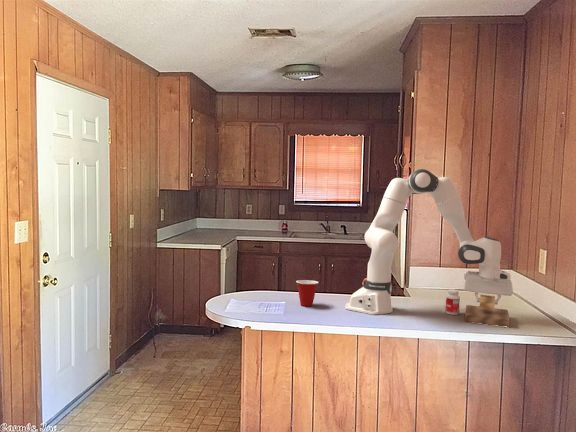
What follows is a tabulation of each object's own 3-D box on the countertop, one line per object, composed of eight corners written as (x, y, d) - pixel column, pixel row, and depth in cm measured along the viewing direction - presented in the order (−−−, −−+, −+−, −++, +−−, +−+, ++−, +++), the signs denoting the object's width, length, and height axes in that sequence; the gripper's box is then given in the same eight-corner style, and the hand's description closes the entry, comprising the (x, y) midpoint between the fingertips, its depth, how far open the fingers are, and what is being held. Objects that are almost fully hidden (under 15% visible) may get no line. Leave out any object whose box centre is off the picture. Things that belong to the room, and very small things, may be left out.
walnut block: (464, 323, 216) (464, 314, 216) (465, 313, 233) (466, 304, 232) (508, 329, 209) (509, 319, 209) (507, 318, 226) (507, 309, 226)
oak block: (479, 308, 219) (480, 297, 218) (479, 305, 224) (480, 294, 224) (494, 310, 216) (494, 299, 216) (493, 306, 222) (494, 296, 222)
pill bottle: (443, 311, 232) (444, 288, 231) (455, 311, 233) (456, 288, 232) (448, 315, 226) (449, 291, 225) (461, 315, 226) (462, 292, 226)
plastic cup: (318, 302, 241) (318, 279, 240) (317, 308, 231) (318, 283, 230) (296, 301, 242) (297, 277, 241) (294, 307, 232) (295, 282, 231)
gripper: (464, 271, 220) (462, 301, 221) (514, 276, 212) (511, 307, 214) (464, 269, 226) (463, 298, 227) (513, 274, 218) (511, 304, 219)
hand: (487, 303), depth 220 cm, fingers closed on oak block, 6 cm apart
